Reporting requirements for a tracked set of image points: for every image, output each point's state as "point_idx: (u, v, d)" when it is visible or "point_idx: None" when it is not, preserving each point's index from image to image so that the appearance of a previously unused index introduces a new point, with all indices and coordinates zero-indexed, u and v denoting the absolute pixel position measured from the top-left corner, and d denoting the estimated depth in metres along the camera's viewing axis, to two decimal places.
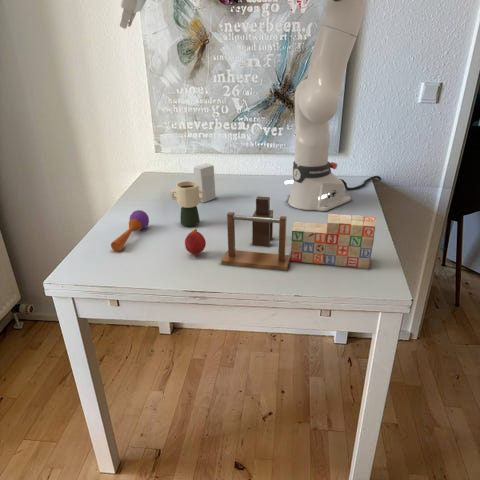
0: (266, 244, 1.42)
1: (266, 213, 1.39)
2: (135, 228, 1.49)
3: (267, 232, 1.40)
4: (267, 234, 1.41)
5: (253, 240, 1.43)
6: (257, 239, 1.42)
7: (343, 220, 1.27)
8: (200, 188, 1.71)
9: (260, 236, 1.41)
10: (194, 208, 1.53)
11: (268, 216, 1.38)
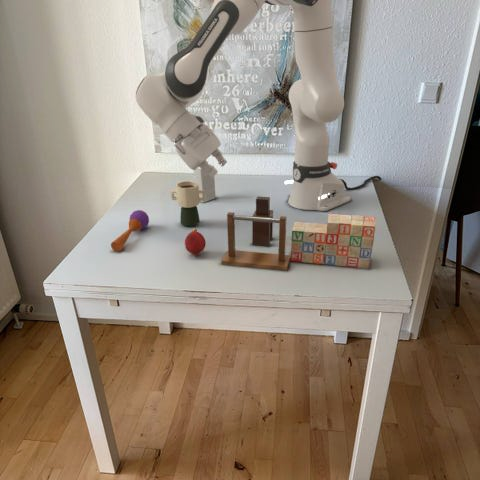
0: (266, 244, 1.42)
1: (266, 213, 1.39)
2: (135, 228, 1.49)
3: (267, 232, 1.40)
4: (267, 234, 1.41)
5: (253, 240, 1.43)
6: (257, 239, 1.42)
7: (343, 220, 1.27)
8: (200, 188, 1.71)
9: (260, 236, 1.41)
10: (194, 208, 1.53)
11: (268, 216, 1.38)
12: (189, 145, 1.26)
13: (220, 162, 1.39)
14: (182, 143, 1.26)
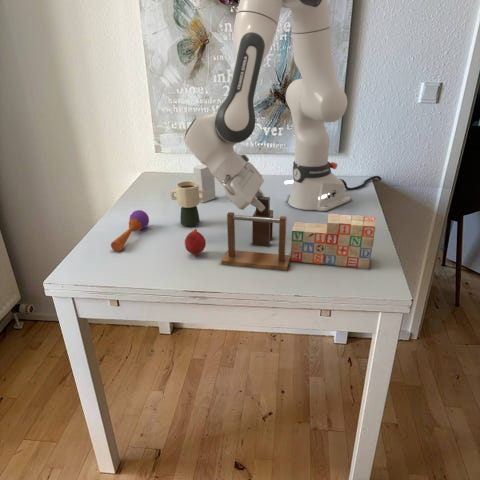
0: (266, 244, 1.42)
1: (266, 213, 1.39)
2: (135, 228, 1.49)
3: (267, 232, 1.40)
4: (267, 234, 1.41)
5: (253, 240, 1.43)
6: (257, 239, 1.42)
7: (343, 220, 1.27)
8: (200, 188, 1.71)
9: (260, 236, 1.41)
10: (194, 208, 1.53)
11: (268, 216, 1.38)
12: (238, 186, 1.29)
13: None
14: (231, 184, 1.28)
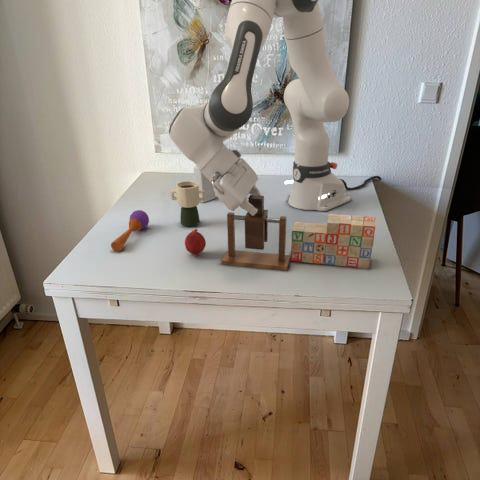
0: (260, 247, 1.29)
1: (260, 214, 1.25)
2: (135, 228, 1.49)
3: (261, 234, 1.27)
4: (261, 237, 1.27)
5: (246, 243, 1.29)
6: (250, 242, 1.29)
7: (343, 220, 1.27)
8: (200, 188, 1.71)
9: (254, 239, 1.28)
10: (194, 208, 1.53)
11: (262, 217, 1.25)
12: (228, 184, 1.16)
13: None
14: (221, 182, 1.15)
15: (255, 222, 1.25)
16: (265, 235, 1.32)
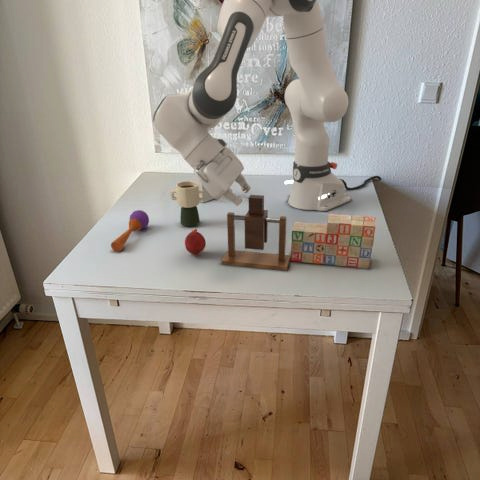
0: (260, 247, 1.29)
1: (260, 213, 1.25)
2: (135, 228, 1.49)
3: (261, 234, 1.27)
4: (261, 237, 1.27)
5: (246, 243, 1.29)
6: (250, 242, 1.29)
7: (343, 220, 1.27)
8: (200, 188, 1.71)
9: (253, 239, 1.28)
10: (194, 208, 1.53)
11: (262, 217, 1.25)
12: (212, 173, 1.15)
13: (244, 188, 1.28)
14: (205, 171, 1.14)
15: (255, 222, 1.25)
16: (265, 236, 1.32)
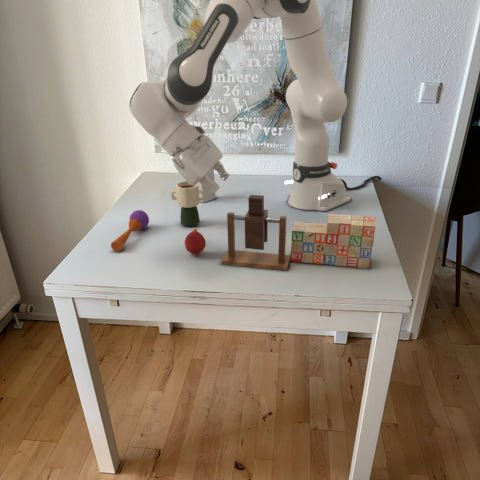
0: (260, 247, 1.29)
1: (260, 213, 1.25)
2: (135, 228, 1.49)
3: (261, 234, 1.27)
4: (261, 237, 1.27)
5: (246, 243, 1.29)
6: (250, 242, 1.29)
7: (343, 220, 1.27)
8: (200, 188, 1.71)
9: (253, 239, 1.28)
10: (194, 208, 1.53)
11: (262, 217, 1.25)
12: (188, 159, 1.15)
13: (222, 176, 1.28)
14: (180, 157, 1.14)
15: (255, 222, 1.25)
16: (265, 235, 1.32)
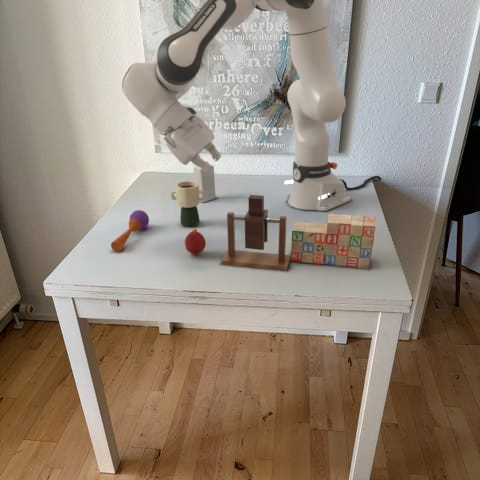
0: (260, 247, 1.29)
1: (260, 213, 1.25)
2: (135, 228, 1.49)
3: (261, 234, 1.27)
4: (261, 237, 1.27)
5: (246, 243, 1.29)
6: (250, 242, 1.29)
7: (343, 220, 1.27)
8: (200, 188, 1.71)
9: (253, 239, 1.28)
10: (194, 208, 1.53)
11: (262, 217, 1.25)
12: (180, 138, 1.17)
13: (214, 156, 1.30)
14: (172, 136, 1.17)
15: (255, 222, 1.25)
16: (265, 235, 1.32)
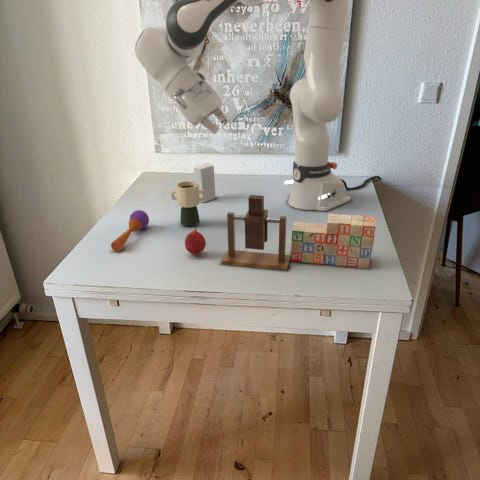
0: (260, 247, 1.29)
1: (260, 214, 1.25)
2: (135, 228, 1.49)
3: (261, 234, 1.27)
4: (261, 237, 1.27)
5: (246, 243, 1.29)
6: (250, 242, 1.29)
7: (343, 220, 1.27)
8: (200, 188, 1.71)
9: (253, 239, 1.28)
10: (194, 208, 1.53)
11: (262, 217, 1.25)
12: (190, 99, 1.23)
13: (222, 121, 1.36)
14: (183, 97, 1.22)
15: (255, 222, 1.25)
16: (265, 235, 1.32)
